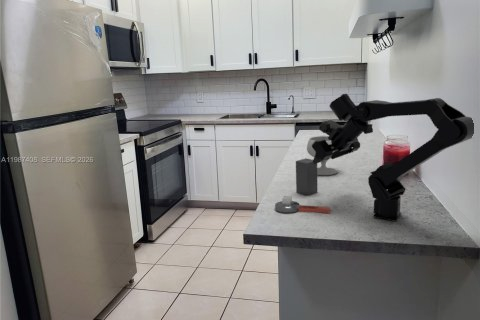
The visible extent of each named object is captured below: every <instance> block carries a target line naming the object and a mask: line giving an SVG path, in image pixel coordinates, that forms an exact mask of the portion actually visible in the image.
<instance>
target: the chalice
mask: <svg viewBox="0 0 480 320" xmlns="http://www.w3.org/2000/svg"><path fill="white" fill-rule="evenodd" d="M328 137H329V135H326V136H325V135H321V136H319V135H318V136H313V137H310V138H309V140H308V141H307V145H306V152H307V153H308V154H309V155H310V156H311V157H313V158H314V156H315V153H316V152H315V150H314V149H313V148H312V144H313V143H314V142H315V141H318V140H325V141H326V142H327V143H328V145H330V144H331V140H329V139H328ZM329 160H332V159H331V157H330V158H329V159H327V160H324V161H322V162H320V165H321V166H320V167H317V176H331V175H332V176H333V175H336V174H337V173H338V172H339V171H338V170H337V169H336V168H332V167H327V166H326V164H327V163H328V161H329Z"/></svg>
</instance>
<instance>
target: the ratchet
mask: <svg viewBox="0 0 480 320" xmlns="http://www.w3.org/2000/svg"><path fill="white" fill-rule="evenodd" d="M274 210H275V211H276V213H279V214H285V215H289V214H295V213H298V212H303V213H319V214H330V211H331V207H330V206H318V205H317V206H316V205H305V204H304V205H303V204H300V203H299V201H294V200H293V197H292V195H291V196H290V195H287V196H286V195H284V196H283V197H282V199H281V200H280V201H278V202H276V203H275V204H274Z"/></svg>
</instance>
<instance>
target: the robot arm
mask: <svg viewBox="0 0 480 320" xmlns="http://www.w3.org/2000/svg"><path fill="white" fill-rule="evenodd" d="M329 109H331V112H333V113H334V115H335V116H336V118H337V119H338V120H339V121H341V122H342V121H344V122H345V123H344V125H342V126H341V125H340V124H339V123H337V122H336V121H334V120H332V119H331V120H330V119H329V120H325V121H323V122H322V121H321V123H320V124H319V127H318V130H319V131H320V132H321V133H323V134H326V136H329V137H328V139H329V140H331V144H330V145H328V143H327V142H326V141H325V140H318V141H315V142H314V143H313V144H312V148H313V149H314V150H315V152H316V153H315V156H314V157H313V159H312V160H313V163H314V164H317V165H318V164H319V163H320V164H321V162H322V161H324V160H327V159H329V158H330V157H331V159H329V160H334V159H338V158H340V157H342V156H345V155H348V154H351V153H354V152H356V151H358V150H359V149H360V148H361V142H360V141H359V139H358V138H359V136H360V135H362V134H365V135H367V134H371V133H374V130H373V124H372V123H369V122H370V121H375V120H379V119H385V118H388V117H399V116H402V117H403V116H418V115H419V116H420V115H426V116H427V117H428V118H429V119H430V120H431V122H432V124H433V125H434V127H435V128H436V129H437V131H435V133H434V135H433V136H432V137H431V139H429V140H428V141H426V142H424V143H423V144H422V145H420V146H419V147H417V149H415V150H413V151H411V152H410V153H409V154H407V155H406V156H405V157H402V158H401V159H400V160H398V161H397V162H396V163H394V164H393V162H392V161H391V162H388V163H385V164H381V165H380V166H378V167H377V168H376V169H375V170H374V171H370V175H369V176H368V178H367V179H368V180H367V182H368V186H369V188H370V192H371V196H372V198H373V199H374V200H373V218H375V219H376V218H377V219H380V220H388V221H392V222H397V221H398V220H399V218H400V217H401V215H402V212H401V198H402V197H401V196H403V195H405V191H406V187H404V185H403V184H402V182H401V181H402V180H403V178H404V177H405V176H406V175H407V174H409V173H410V172H411V171H413V170H414V169H416V168H418V167H419V166H420V165H422V164H424V163H426V162H427V161H428V160H430V159H432V158H433V157H435V156H437V155H438V154H440V153H441V152H443V151H445V150H446V149H449V148H450V147H453V146H456V145H458V144H461V143H463V142H466V141H468V140H471V139H473V138H472V136H473V134H474V123H473V120H472V118H473V117H470V116H466V115H465V114H464V113H463V112H462V111H460V110H459V109H457V108H455V107H453V106H452V105H450V104H448V103H447V102H446V101H445V100H443V99H442V98H440V97H436V98H429V99H423V100H422V99H420V100H410V101H409V100H408V101H397V102H390V101H385V100H378V99H377V100H375V99H373V100H369V101H362V102H359V104H357V105H356V104H355V102H353V100H352V99H351V98H350V96H349V94H348V93H342V94H341V95H340V96H339V97H337V98H335V99H334V100H332V101H331V102H330V104H329Z"/></svg>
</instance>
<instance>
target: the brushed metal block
mask: <svg viewBox="0 0 480 320" xmlns="http://www.w3.org/2000/svg"><path fill="white" fill-rule="evenodd" d="M317 168H318V163H317V164H314V163H313V159H311V158H307V157H306V158H303V159H302V158H301V159H299V160H295V188H296V189H295V191H296V194H300V195H303V196H306V197H307V196H308V197H309V196H312V195H314V194H316V193H318V175H317Z"/></svg>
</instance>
